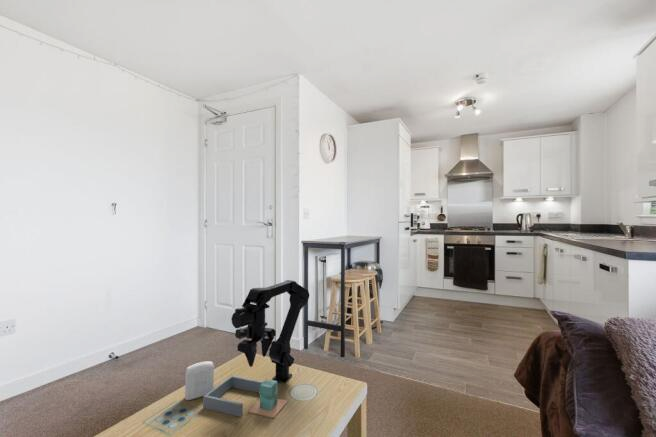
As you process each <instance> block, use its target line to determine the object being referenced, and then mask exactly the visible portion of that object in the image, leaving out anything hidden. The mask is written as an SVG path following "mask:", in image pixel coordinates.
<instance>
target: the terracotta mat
mask: <svg viewBox="0 0 656 437" xmlns="http://www.w3.org/2000/svg"><path fill="white" fill-rule="evenodd" d="M287 403H288V400H284V399H280V398H277V404H276V405H275V407H274V408H273V409H272V410H271V411H270V410H266V409H262V408H260V399H259V400H258V401H257V402H256V403H255V404H254V405H253V406H252V407H251V408H250V409H249V410H248V413H250V414H254V415H259V416H262V417H267V418H271V419H275V418H276V417H277V415H278V414H279V413H280V412H281V411H282V409H283V408H284V407H285V406H286V404H287Z"/></svg>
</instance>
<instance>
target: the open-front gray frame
mask: <svg viewBox="0 0 656 437" xmlns="http://www.w3.org/2000/svg"><path fill="white" fill-rule="evenodd" d="M264 381H265V380H264ZM264 381H262V380H257V379H252V378H248V377H242V376H238V375H230V376H229V377H228V378H225V380H223V381H222V382H221V383H218V385H216V386H214V389H213V390H211V391H210V392H208V393H207V394H206V395H204V396H202V397H203V398H202V401H203V402H202V408H203V409H207V410H211V411H215V412H220V413H224V414H228V415H230V416H231V415H232V416H237V417H240V418H241V417H242V418H243V415H244V414H243V413H244V403H242V402H238V401H234V400H230V399H224V398H221V397H222V396H223V395H224V394H225V393H227V392H228V391H229V390H230V389H231V388H234V389H235V388H236V389H239V390H246V391H250V392H255V393H259V394H260V385H261V384H262V383H263V382H264Z"/></svg>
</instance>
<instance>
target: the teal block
mask: <svg viewBox="0 0 656 437" xmlns="http://www.w3.org/2000/svg"><path fill="white" fill-rule="evenodd" d="M277 399H278V381H275V380H272V379H268V378H266V379H265V380H264V382H263V383H262V384H261V385H260V393H259V400H260V408H262V409H266V410H270V411H271V410H272V409H273V408H274V407H275V405H276V404H277Z"/></svg>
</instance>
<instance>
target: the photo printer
mask: <svg viewBox="0 0 656 437" xmlns="http://www.w3.org/2000/svg"><path fill="white" fill-rule="evenodd" d="M214 379H215V366H214V363H213V361H210V360H209V361H205V360H204V361H200V362H197V363H194V364H190V365H189V366H188V367H186V371H185V379H184V381H185V382H184V384H185V387H184V390H185V391H184V399H185V400H186V401H190V400H194V399H198V398H201V397H203V396H204V395H206V394H207V393H208V392H210V391H211V390H213V389H214V388H215V386H214V385H215V384H214V383H215V382H214V381H215V380H214Z"/></svg>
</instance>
